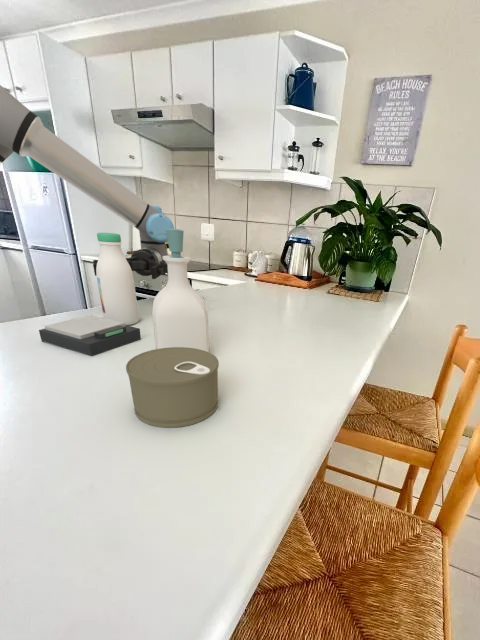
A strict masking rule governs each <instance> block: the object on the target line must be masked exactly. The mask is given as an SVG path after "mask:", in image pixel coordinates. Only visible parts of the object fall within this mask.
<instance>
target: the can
mask: <svg viewBox="0 0 480 640" xmlns="http://www.w3.org/2000/svg"><path fill="white" fill-rule="evenodd" d="M219 364H220V363H219V359H218V358H217V356H216V355H215V354H213V353H211V352H210V351H209V352H207V351H204V350H200V349H195V348H186V347H170V348H161V349H156V348H155V349H151V350H147V351H143V352H141V353H139V354H137V355H135V356H133V357H131V358H130V359H129V360H128V362H127V363H126V365H125V371H126V374H127V376H128V380H129V386H130V391H131V397H132V402H133V408H134V414H135V416H136V418H137V419H138V420H139V421H141V422H143V423H144V424H147V425H149V426H153V427H158V428H170V429H171V428H182V427H189V426H192V425H195V424H198V423H201V422H202V421H205V420H206V419H209V418H210V417H211V416H212V415H214V414H215V412H216V411H217V410H218V408H219V407H218V406H219V398H218V397H219V383H218V381H219V379H218V378H219V377H218V376H219V375H218V374H219V373H218V372H219V371H218V370H219V366H220V365H219Z"/></svg>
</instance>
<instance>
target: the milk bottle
mask: <svg viewBox="0 0 480 640" xmlns="http://www.w3.org/2000/svg"><path fill="white" fill-rule="evenodd" d="M96 237H97V238H96V239H97V241H98V242H97V243H98V244H99V249H100V250H99V256H98V259H97V260H98V262H97V267H96V275H97V276H96V281H97V286H98V287H97V288H98V294H99V299H100V304H101V309H102V314H103V315H102V316H103V318H106V319H110V320H115V321H119V322H123V323H125V325H127V326H130V325H135V324H137V323H139V321H140V314H139V307H138V301H137V292H136V285H135V279H134V273H133V271H132V270H131V267H130V265H129V263H128V262H127V260H126V258H127V257H126V256H125V254H124V253H123V250H122V237H121V234H120V233H117V232H116V233H114V232H97V233H96Z"/></svg>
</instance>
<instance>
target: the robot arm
mask: <svg viewBox="0 0 480 640" xmlns="http://www.w3.org/2000/svg"><path fill="white" fill-rule="evenodd" d="M13 153H15V154H17V155H19V156H20V157H30V159H32V160H34V161H35V162H37V163H38V164H40V165H41V166H42V167H44V168H45V169H47V170H49V171H50V172H52V173H53V174H55V175H56V176H58V177H59V178H60V179H62V180H64V181H65V182H67V183H68V184H70V185H71V186H73V187H74V188H75V189H77V190H79V191H80V192H82V193H83V194H85V196H87V197H89V198H90V199H92V200H93V201H95V202H96V203H97V204H100V205H101V206H102V207H104V208H105V209H107V210H108V211H110V212H112V213H113V214H114V215H116V216H117V217H119V218H120V219H122V220H123V221H125V222H126V223H128V224H129V225H131V226H132V227H134V228H135V229H137V230H138V233H139V240H140V249H137V250H135V251H133V253H132V254H131V256H130V257H125V258H126V260H127V262H128V263H129V265H130V267H131V270H132V272H135V273H136V274H138V275H140V276H143V277H149V276H151V280H157V278H159V277H161V276H165V275H166V274H167V275H168V268H167V263H166V262H165V261H164V260H163V257H162V256H169V254H168V251H167V249H166V243H168V240H167V235H157V236H155V237H152V238H151V236H152V235H154V234H157V233H166V229H175V226H174V225H175V224H174V223H173V221H172V219H171V218H170V217H169V216H168V215H166V214H164V213H163V210H162V207H160V206H158V205H150V204H149V203H148V202H147V201H145V200H144V199H143V198H141V197H140V196H138V195H137V194H135V193H134V192H133V191H131V190H130V189H129V188H128V187H126V186H125V185H124V184H122V183H121V182H120V181H118V180H117V179H116V178H114V177H113V176H111V175H110V174H108V173H107V172H106V171H105V170H103V169H102V168H101V167H99V166H98V165H97V164H95V163H94V162H92V161H91V160H90V159H89V158H87V157H86V156H85V155H84V154H82V153H80V152H79V151H77V150H76V149H75V148H74V147H73V146H71V145H70V144H68V143H67V142H66V141H64V140H63V139H62V138H60V137H59V136H57V134H54V133H53V132H52V131H51V130H49V128H46V127H45V126H44V124H43V122H42V119H41V118H40V116H38V115H37V114H36V113H34V112H33V111H32V110H30V109H29V108H28V107H27V106H25V105H24V104H23V103H22V102H21V101H19V100H18V99H17V98H16V97H15V96H14V95H13V94H11V93H10V92H9V91H8V90H7V89H6V88H5V87H4V86H3V85H1V84H0V164H2V163H4V162H5V161H6V160H7V159H8V158H9V157H10V156H11V155H12V154H13ZM92 262H93V264H92V266H93V273H94V276H96V277H97V275H96V267H97V262H98V259H92Z"/></svg>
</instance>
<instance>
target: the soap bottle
mask: <svg viewBox="0 0 480 640" xmlns="http://www.w3.org/2000/svg"><path fill="white" fill-rule="evenodd" d="M184 233H185V231H184V229H183V230H182V229H179V228H174V229H166V233H157V234H154V235H152V236H151V238H152V237H155V236H157V235H167V240H168V241H167V244H168V245H167V246H168V249H169V251H170V252H171V255H168V256H162V257H163V260H164V261H165V262H166V263H167V268H168V274H167V283H166V285H165V286H164V287H163V288H162V289H160V290H159V291H158V293H156V294H155V297H154V299H153V302H152V317H151V318H152V324H153V334H154V342H155V349H161V348H170V347H186V348H195V349H200V350H204V351H207V352H209V353H210V331H209V330H210V329H209V327H210V326H209V313H208V308H207V304H206V301H205V299H204V297H203V296H202V295H201V294H200V293H199V292H198V291H197V290H196V289H195V288H194V287H192V285H191V283H190V281H189V277H188V263H190V262H191V257H189V256H184V255H181V253H182V252H183V249H184Z"/></svg>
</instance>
